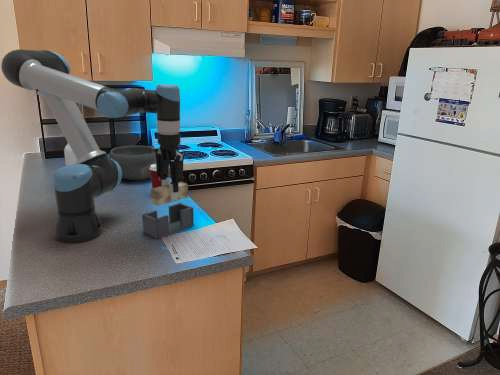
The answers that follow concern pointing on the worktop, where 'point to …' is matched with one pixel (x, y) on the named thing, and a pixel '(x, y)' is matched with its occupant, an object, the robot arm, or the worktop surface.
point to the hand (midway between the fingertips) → (169, 198)
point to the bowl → (134, 161)
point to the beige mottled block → (167, 194)
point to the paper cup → (154, 177)
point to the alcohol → (69, 156)
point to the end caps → (168, 221)
